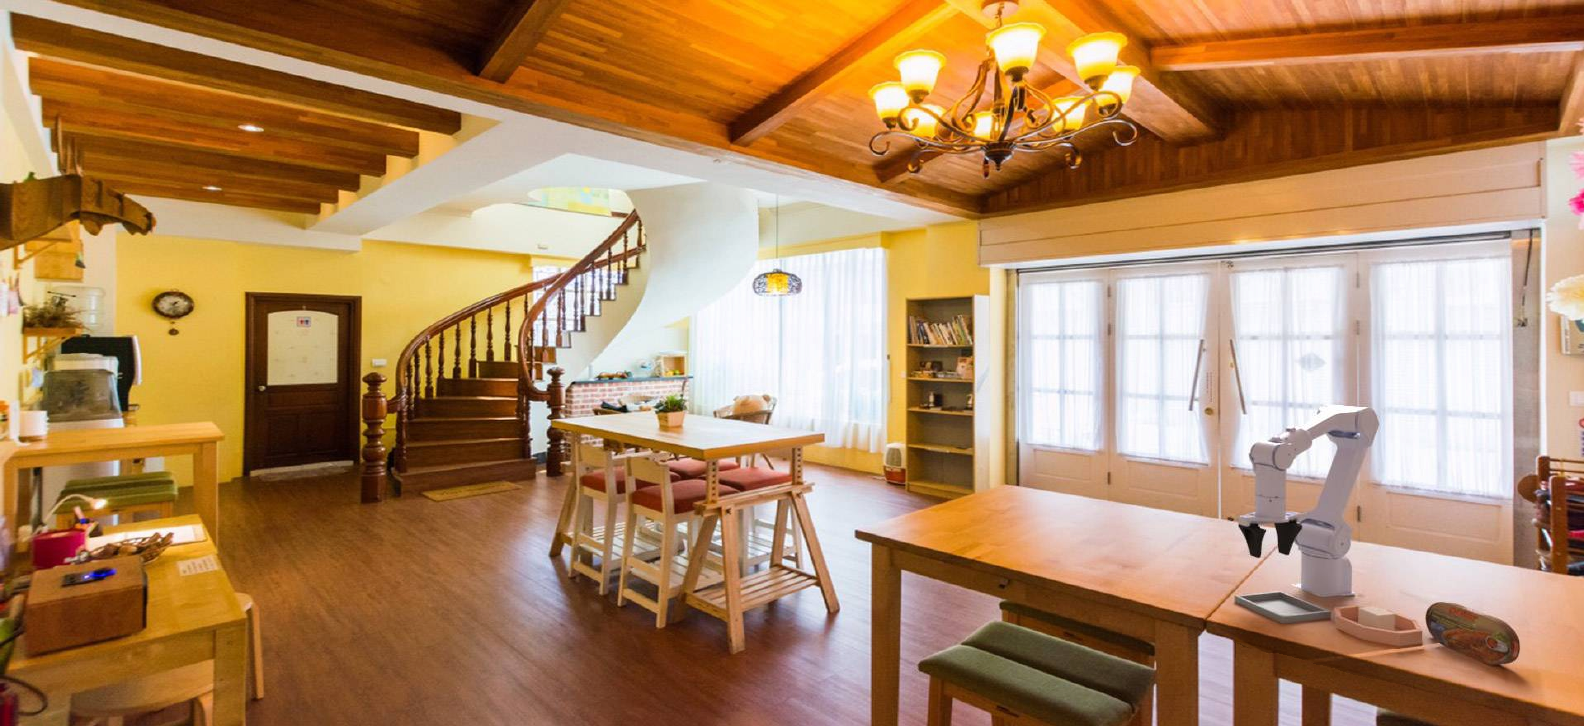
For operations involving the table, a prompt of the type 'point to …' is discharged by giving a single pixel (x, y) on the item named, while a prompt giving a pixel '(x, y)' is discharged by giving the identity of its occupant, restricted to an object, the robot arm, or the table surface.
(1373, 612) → the beige cube
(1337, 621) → the bowl
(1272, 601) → the parts tray
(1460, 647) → the tin
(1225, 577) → the table surface
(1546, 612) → the table surface
